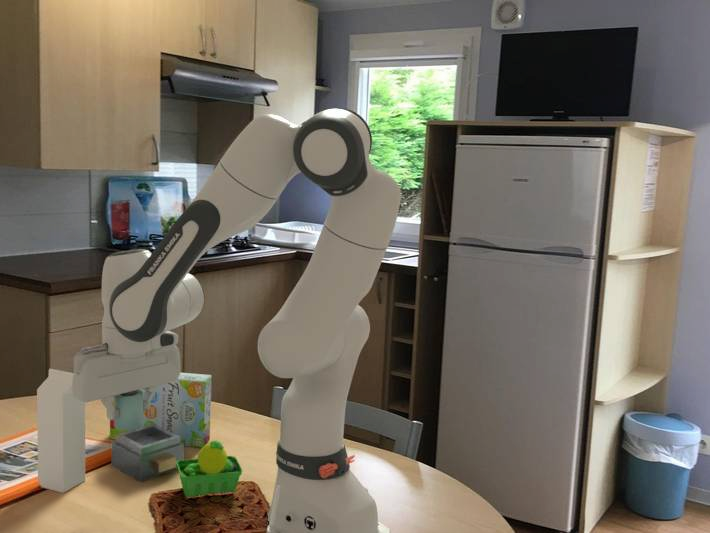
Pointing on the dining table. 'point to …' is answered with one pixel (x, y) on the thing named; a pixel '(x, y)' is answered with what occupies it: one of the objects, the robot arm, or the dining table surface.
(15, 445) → the dining table surface
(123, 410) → the capped canister
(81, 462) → the milk
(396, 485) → the dining table surface
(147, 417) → the snack box
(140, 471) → the gray drawer
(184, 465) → the fruit basket
